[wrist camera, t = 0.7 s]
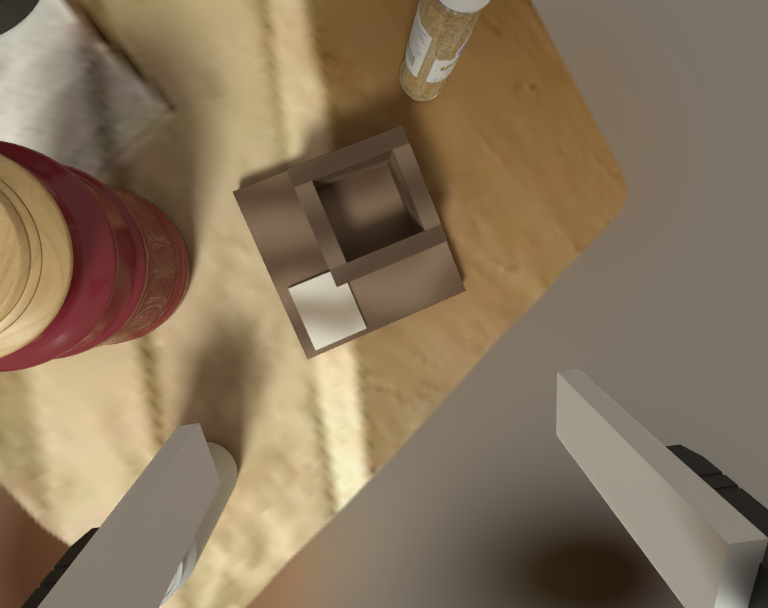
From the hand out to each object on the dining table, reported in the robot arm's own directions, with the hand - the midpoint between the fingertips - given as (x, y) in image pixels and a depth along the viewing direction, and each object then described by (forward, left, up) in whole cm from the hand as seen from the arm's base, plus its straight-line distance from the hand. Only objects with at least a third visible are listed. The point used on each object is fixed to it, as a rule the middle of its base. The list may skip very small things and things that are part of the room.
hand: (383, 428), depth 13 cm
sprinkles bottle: (-20, +15, -22) cm, 34 cm away
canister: (-14, -17, -22) cm, 31 cm away
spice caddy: (-8, +3, -22) cm, 24 cm away
